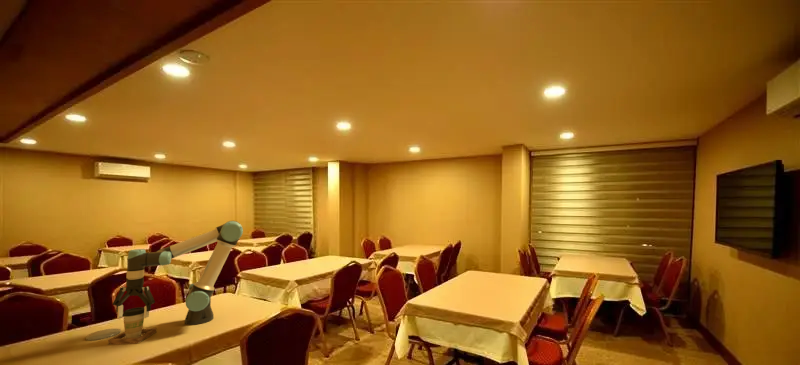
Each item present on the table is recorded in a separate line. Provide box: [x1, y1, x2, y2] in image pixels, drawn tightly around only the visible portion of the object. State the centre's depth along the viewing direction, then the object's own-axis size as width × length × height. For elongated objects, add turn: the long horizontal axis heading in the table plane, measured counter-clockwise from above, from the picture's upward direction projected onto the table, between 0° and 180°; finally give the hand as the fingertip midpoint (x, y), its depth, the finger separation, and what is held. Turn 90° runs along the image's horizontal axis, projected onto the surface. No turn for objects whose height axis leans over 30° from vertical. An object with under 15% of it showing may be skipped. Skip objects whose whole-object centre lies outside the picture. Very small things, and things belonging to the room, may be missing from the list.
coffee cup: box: [122, 306, 145, 338], centre depth 178 cm, size 10×10×15 cm
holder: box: [108, 327, 157, 345], centre depth 177 cm, size 14×14×2 cm
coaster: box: [85, 328, 121, 342], centre depth 182 cm, size 14×14×1 cm
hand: (133, 317), depth 178 cm, fingers open, 13 cm apart
